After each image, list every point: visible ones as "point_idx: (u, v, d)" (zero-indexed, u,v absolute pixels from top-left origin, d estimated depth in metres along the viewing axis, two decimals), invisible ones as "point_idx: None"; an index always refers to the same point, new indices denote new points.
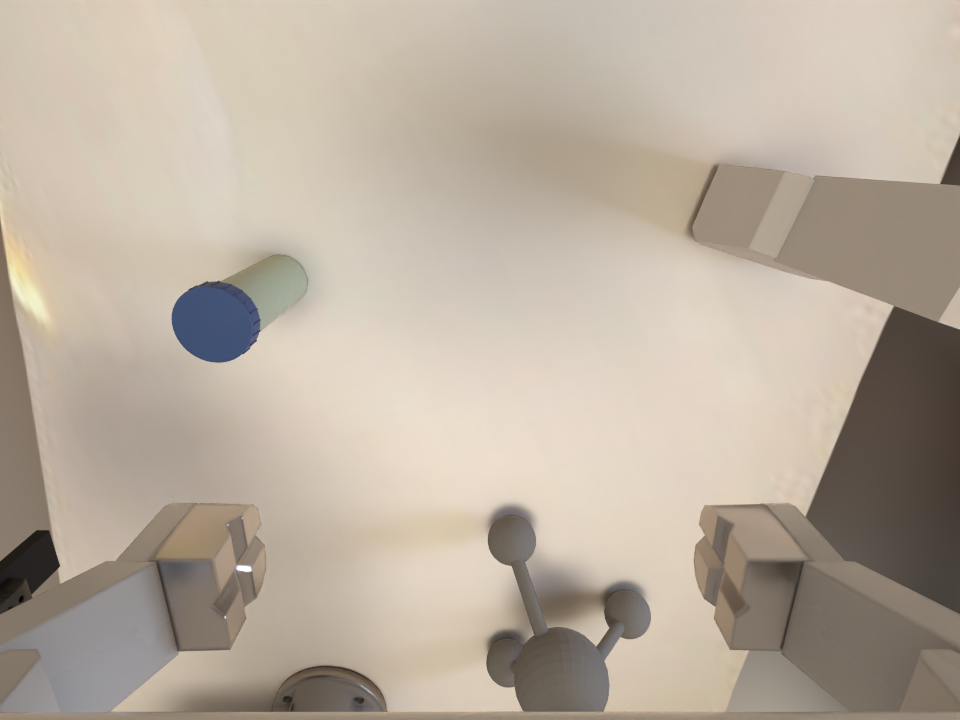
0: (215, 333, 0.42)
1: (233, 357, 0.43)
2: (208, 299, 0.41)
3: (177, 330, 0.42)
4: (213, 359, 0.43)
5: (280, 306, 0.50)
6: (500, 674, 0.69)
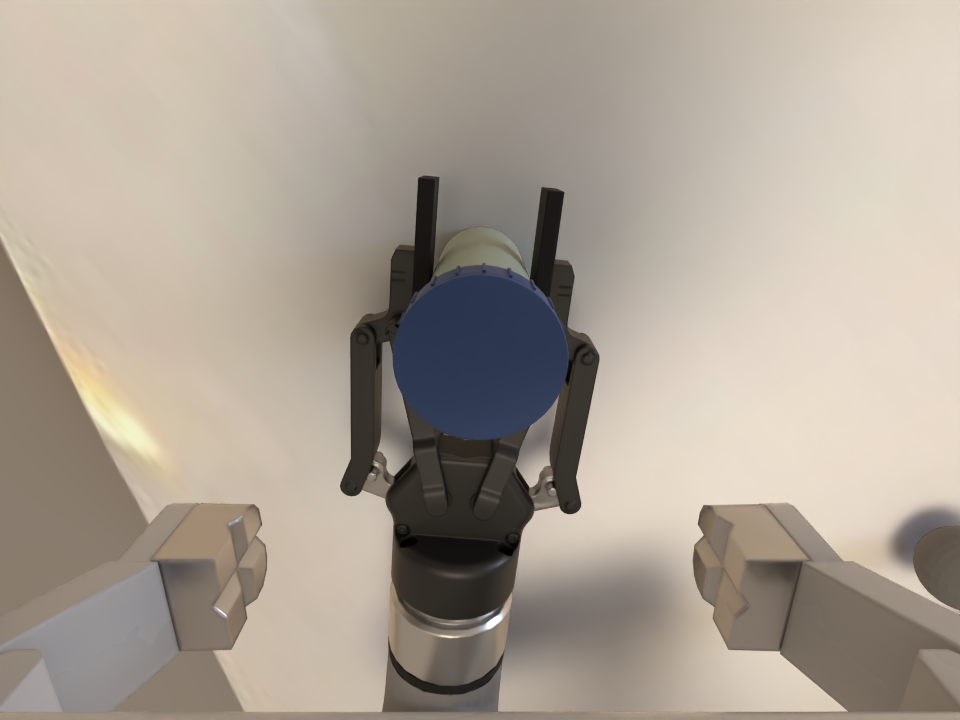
0: (490, 375, 0.19)
1: (538, 415, 0.20)
2: (461, 306, 0.18)
3: (412, 396, 0.19)
4: (498, 432, 0.20)
5: None
6: None
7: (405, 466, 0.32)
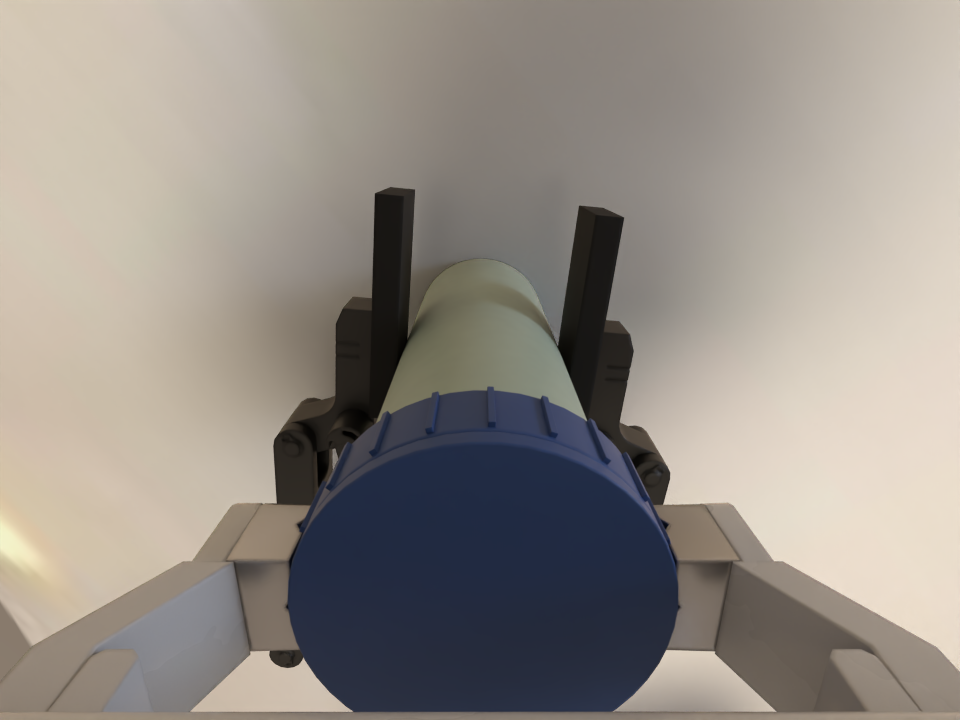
0: (505, 640, 0.09)
1: (606, 709, 0.09)
2: (440, 508, 0.08)
3: (335, 676, 0.09)
4: None
5: None
6: None
7: None
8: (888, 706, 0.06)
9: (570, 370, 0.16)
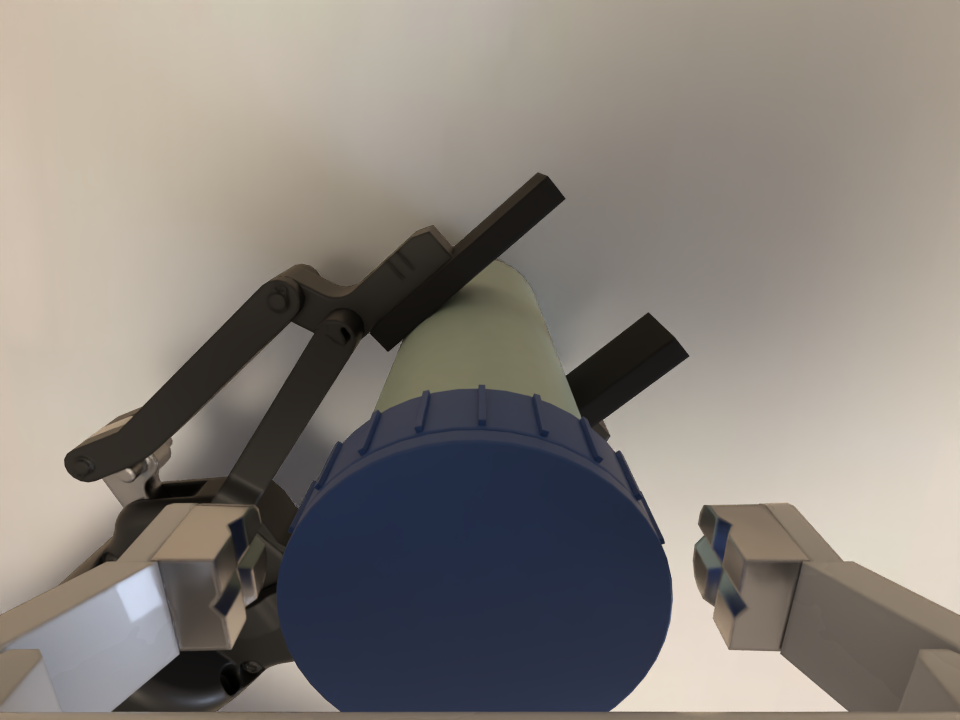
0: (506, 635, 0.09)
1: (634, 680, 0.09)
2: (391, 524, 0.08)
3: (359, 708, 0.09)
4: None
5: None
6: None
7: (189, 483, 0.20)
8: None
9: None
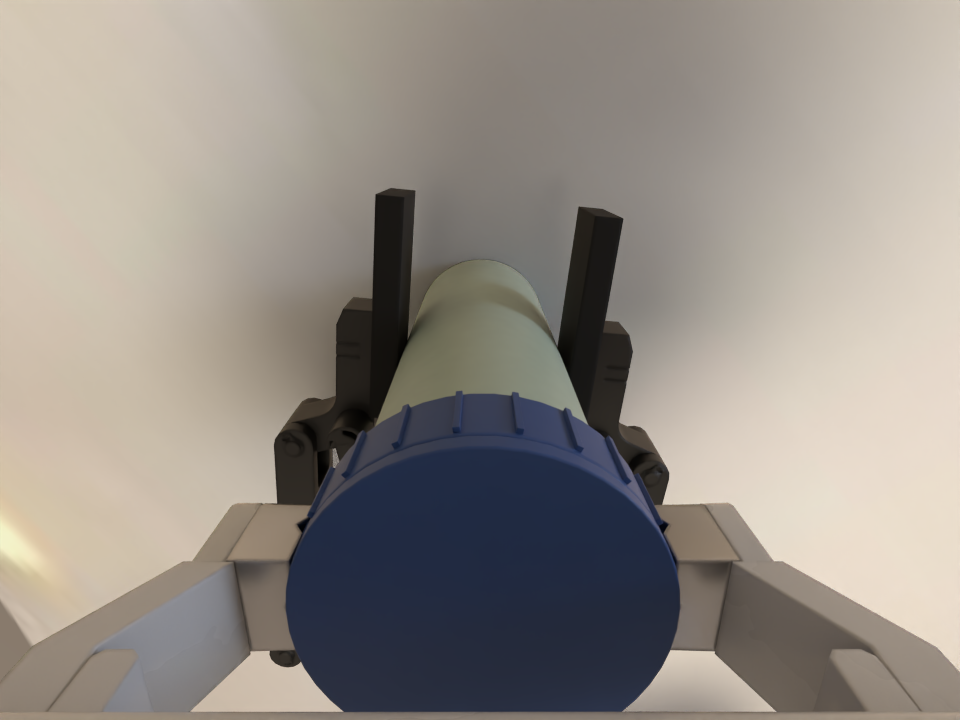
0: (522, 618, 0.08)
1: (669, 578, 0.08)
2: (349, 600, 0.08)
3: None
4: (652, 658, 0.09)
5: None
6: None
7: None
8: (888, 706, 0.06)
9: (569, 370, 0.17)
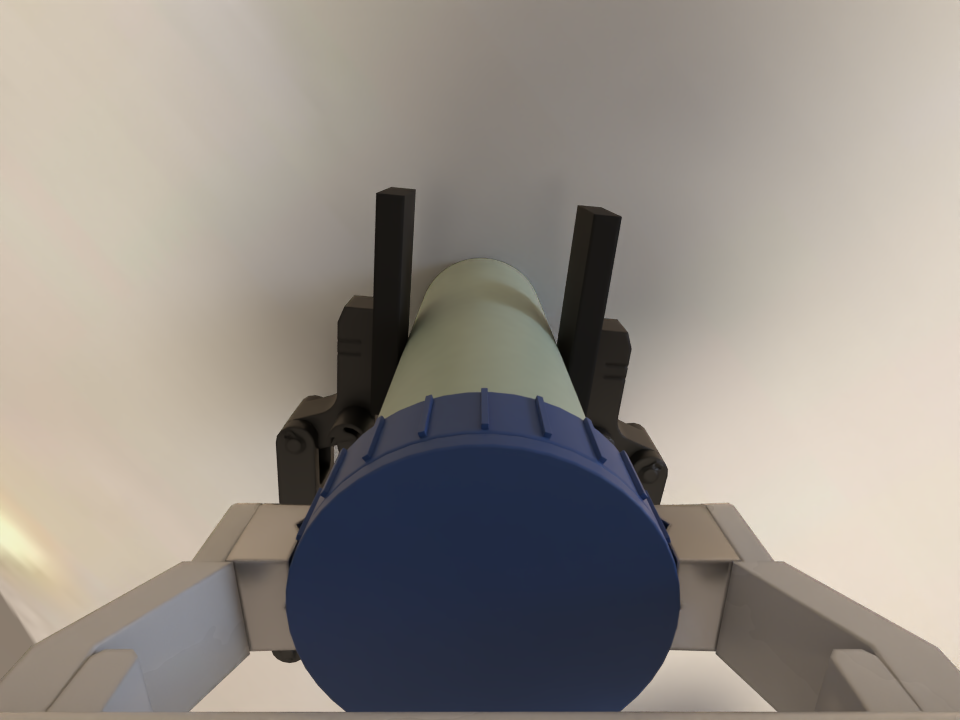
0: (498, 590, 0.08)
1: (529, 458, 0.08)
2: (400, 694, 0.09)
3: (628, 684, 0.09)
4: (622, 510, 0.08)
5: None
6: None
7: None
8: (889, 706, 0.06)
9: (569, 367, 0.17)
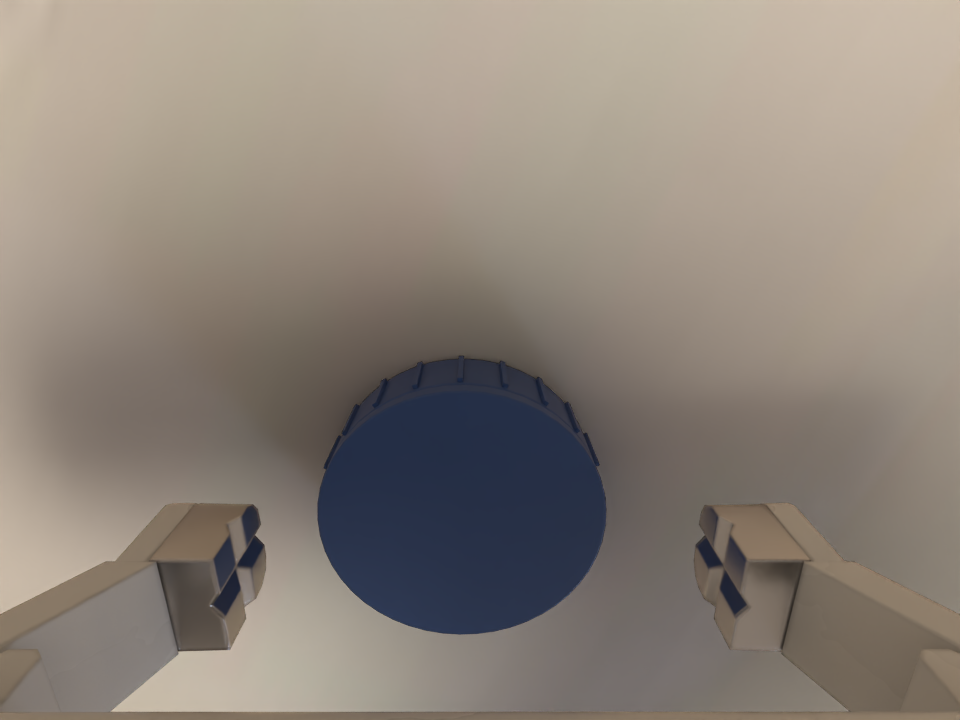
0: (473, 500, 0.11)
1: (491, 400, 0.11)
2: (402, 585, 0.12)
3: (572, 573, 0.12)
4: (558, 438, 0.11)
5: None
6: None
7: None
8: None
9: None
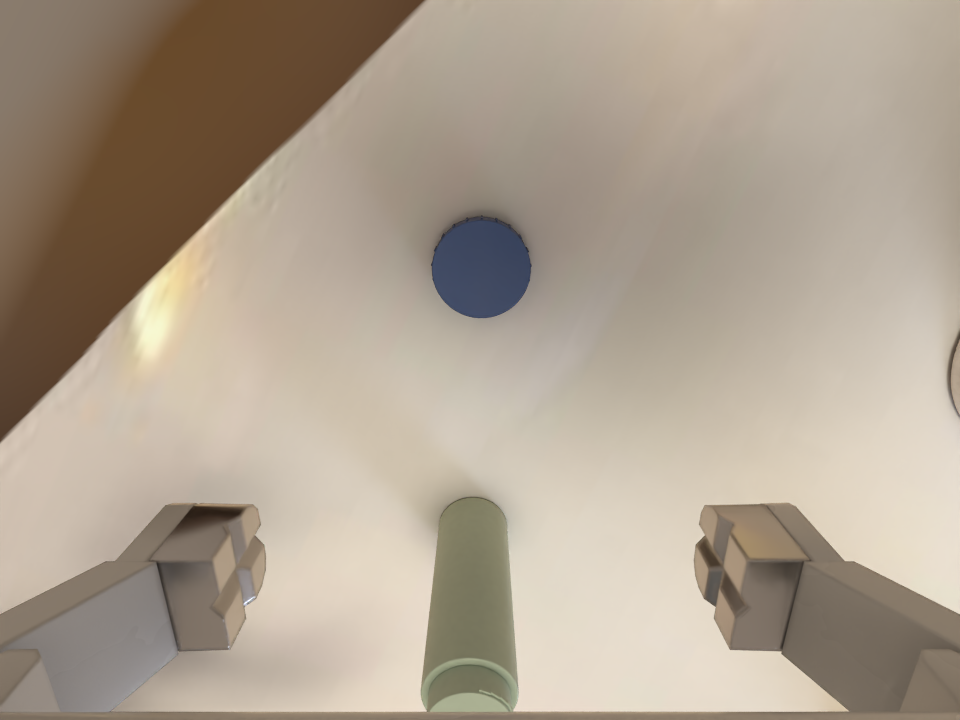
0: (485, 261, 0.34)
1: (491, 223, 0.33)
2: (459, 295, 0.34)
3: (519, 292, 0.34)
4: (513, 238, 0.33)
5: None
6: None
7: None
8: None
9: None
